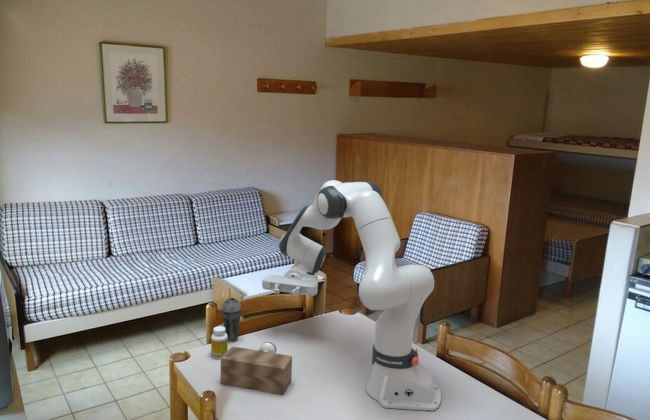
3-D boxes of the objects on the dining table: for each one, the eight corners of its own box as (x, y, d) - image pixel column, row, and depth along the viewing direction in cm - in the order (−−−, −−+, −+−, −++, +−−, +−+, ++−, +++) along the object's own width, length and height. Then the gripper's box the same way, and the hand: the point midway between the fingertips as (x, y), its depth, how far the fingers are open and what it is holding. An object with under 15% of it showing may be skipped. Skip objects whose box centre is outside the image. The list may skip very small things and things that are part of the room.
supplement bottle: (223, 360, 165) (223, 333, 163) (208, 358, 166) (208, 331, 164) (229, 352, 170) (230, 326, 168) (215, 350, 171) (215, 324, 169)
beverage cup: (245, 338, 181) (246, 286, 177) (231, 346, 175) (232, 292, 171) (230, 333, 185) (231, 281, 181) (216, 340, 179) (216, 287, 175)
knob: (276, 356, 162) (277, 341, 161) (267, 370, 154) (267, 354, 153) (261, 353, 164) (262, 339, 162) (251, 367, 155) (251, 352, 154)
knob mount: (291, 381, 154) (292, 356, 153) (283, 395, 147) (284, 368, 145) (231, 370, 159) (231, 346, 157) (220, 383, 151) (220, 358, 150)
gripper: (269, 268, 188) (255, 280, 174) (321, 274, 183) (312, 287, 170) (269, 284, 189) (255, 297, 176) (321, 291, 184) (311, 305, 171)
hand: (283, 292), depth 173 cm, fingers open, 4 cm apart
